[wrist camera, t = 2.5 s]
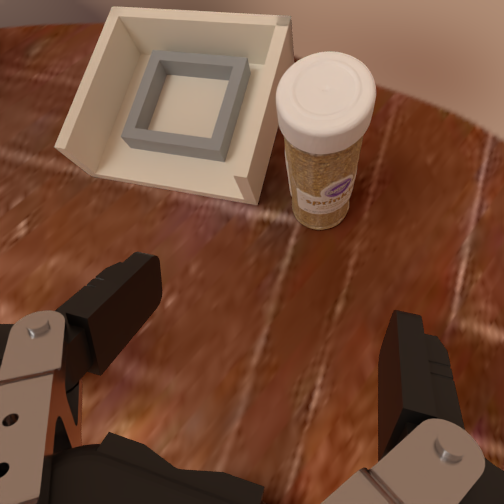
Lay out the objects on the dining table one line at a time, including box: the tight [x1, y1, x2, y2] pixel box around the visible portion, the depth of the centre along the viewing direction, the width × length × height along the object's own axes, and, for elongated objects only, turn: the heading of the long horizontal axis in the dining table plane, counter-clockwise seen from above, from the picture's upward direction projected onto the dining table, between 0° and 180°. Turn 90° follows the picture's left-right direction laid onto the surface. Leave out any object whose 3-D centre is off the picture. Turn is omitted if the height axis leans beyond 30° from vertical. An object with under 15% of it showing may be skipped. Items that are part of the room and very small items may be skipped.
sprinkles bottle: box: [276, 51, 376, 230], centre depth 23 cm, size 5×5×14 cm
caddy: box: [54, 6, 294, 205], centre depth 31 cm, size 16×14×5 cm
